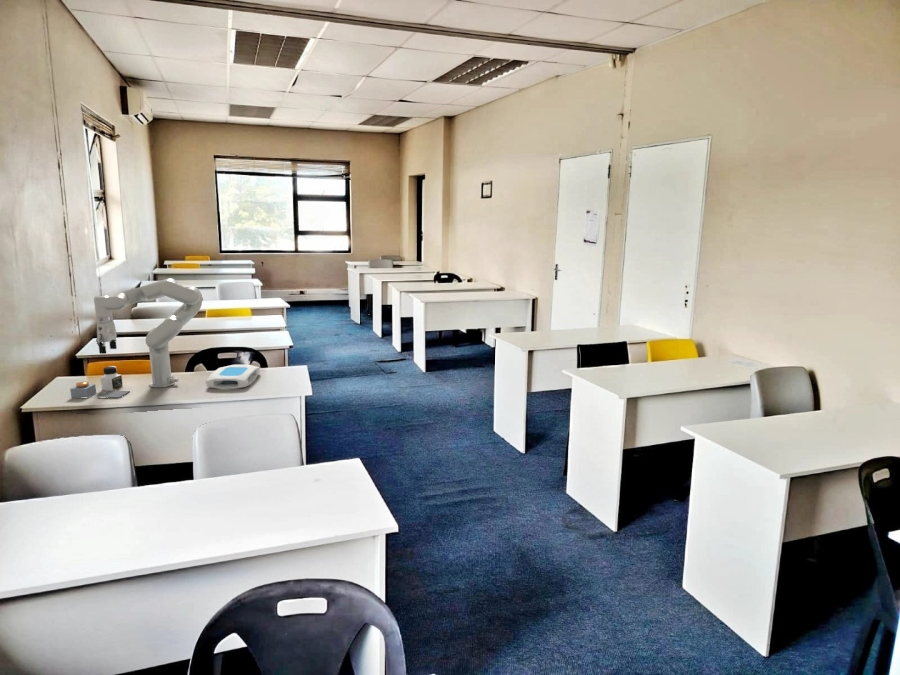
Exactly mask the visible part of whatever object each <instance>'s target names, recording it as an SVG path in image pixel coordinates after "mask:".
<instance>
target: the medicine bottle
mask: <svg viewBox="0 0 900 675" xmlns="http://www.w3.org/2000/svg"><path fill="white" fill-rule="evenodd" d="M100 384H101V390H102V391H118V390H119V389H121V388H123V387H124V386H123V377H122V374H118V369H117V366H114V365H110V366H105V367H104V368H103V376H100Z"/></svg>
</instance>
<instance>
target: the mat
mask: <svg viewBox="0 0 900 675" xmlns="http://www.w3.org/2000/svg"><path fill="white" fill-rule="evenodd" d="M129 393H130V394H131V392H130V390H114V391H108V390H106V392H104V393H102V394H101V395H99V396H98V397H108V398H120V399H122V398H123V397H125V396H127V395H128V394H129ZM124 395H125V396H124ZM122 396H123V397H122ZM108 398H107V399H108Z"/></svg>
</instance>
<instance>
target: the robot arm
mask: <svg viewBox="0 0 900 675" xmlns="http://www.w3.org/2000/svg"><path fill="white" fill-rule="evenodd" d="M165 297H167V298H169V299H172V300H174V301H177V302H180V303H182V305H180V306H179V307H178V308H177V309H176V310H175V311H174V312H172V313H171V314H170V315H169V316H166V318H165V319H164V320H163V321H162V322H161V323H159V325H158V326H157V327H153V328H152V329H150V330H149V331H148V333H147V334H146V336H145V344H146V346H147V348H148V349H149V350H148V351H149V352H148V353H149V360H150V361H149V362H150V372H151V382H149V386H150V387H151V388H166V387H171V386H173V385H175V384H176V383H178V382H179V380H180V379H179V377H174V374H172V371H171V370H172V369H171V358H170V350H169V348H170V347H169V343H170V342H171V341H172V340H173V339H174V338H175V337H176V336H178V334H180V333H181V331H182V329H183V327H184V326H185V325H187V324H188V323H189V322H190V321H191V320H192V319H193V318H194V317H195V316H197V314H198V313H199V311H201V308H202V305H203V297H202V293H201V290H200V289H199V288H198V287H196V286H189V287H187V286H184V285H181V284H179V283H178V281H177V280H176V279H174V278H171V277H170V278H164V279H162V280H158V281H155V282H152V283H149V284H146V285H142V286H139V287H135V288H131V289H128V290H126V291H122V292H120V293H116V294H115V295H113V296H109V295H105V294H103V295H97V296H94V298H93V304H94V311H95V312H94V313H95V319H96V335H97V337H96V339H95V342H96V345H97V346H98V351H99V352H98V353H99V354H100V355H101V354H107V349H106V348H107V346H106V342H107V343H109V349H110V350H116V349H118V348H117V336H118V334H117V330H116V324H115V322H114V317H113V311H122V310H124V309H126V307H127V306H130V305H133V304H137V303H141V302H152V301H154V300H157V299H161V298H165Z"/></svg>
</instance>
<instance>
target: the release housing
mask: <svg viewBox="0 0 900 675" xmlns="http://www.w3.org/2000/svg"><path fill="white" fill-rule="evenodd" d="M69 389H70V397H71V399H82V398H81V397H89V396H90V397H92V396H94V395H96V394H97V388H96V384H95V383H89V385H88V386H87V387H85V388H77V387H76V385H74V386H73V387H70V388H69ZM95 393H96V394H95ZM93 394H94V395H93ZM91 395H92V396H91ZM90 397H89V398H90Z"/></svg>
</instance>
